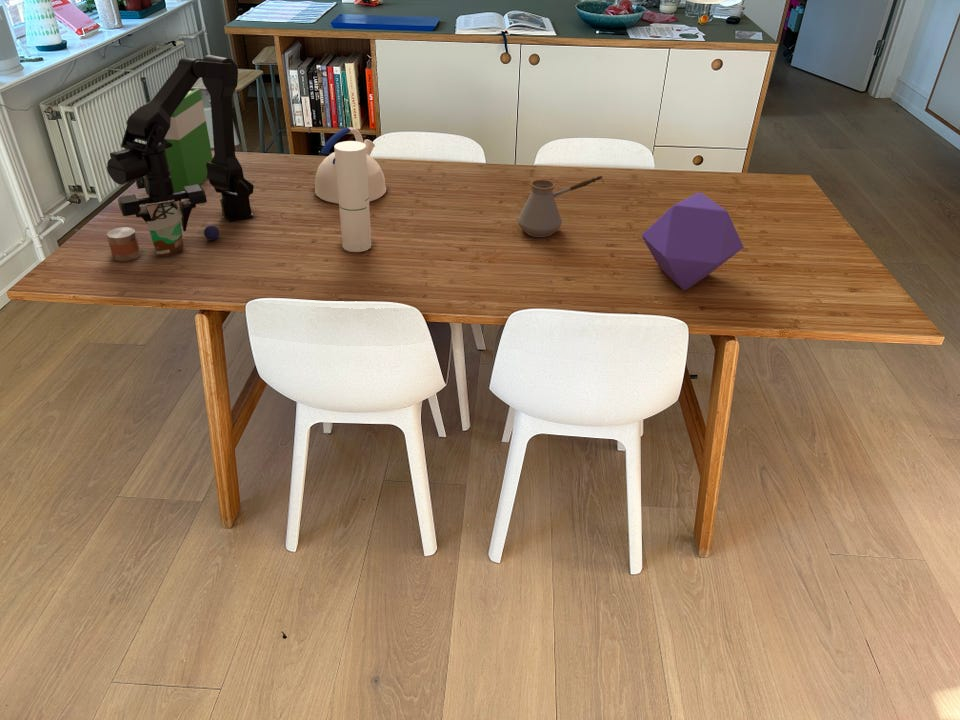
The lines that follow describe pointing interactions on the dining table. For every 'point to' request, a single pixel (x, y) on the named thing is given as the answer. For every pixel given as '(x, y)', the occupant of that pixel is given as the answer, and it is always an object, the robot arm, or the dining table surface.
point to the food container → (166, 229)
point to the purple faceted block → (692, 240)
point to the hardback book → (188, 143)
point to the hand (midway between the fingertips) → (170, 233)
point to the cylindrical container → (353, 195)
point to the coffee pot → (544, 208)
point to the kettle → (328, 177)
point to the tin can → (123, 244)
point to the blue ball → (211, 232)
